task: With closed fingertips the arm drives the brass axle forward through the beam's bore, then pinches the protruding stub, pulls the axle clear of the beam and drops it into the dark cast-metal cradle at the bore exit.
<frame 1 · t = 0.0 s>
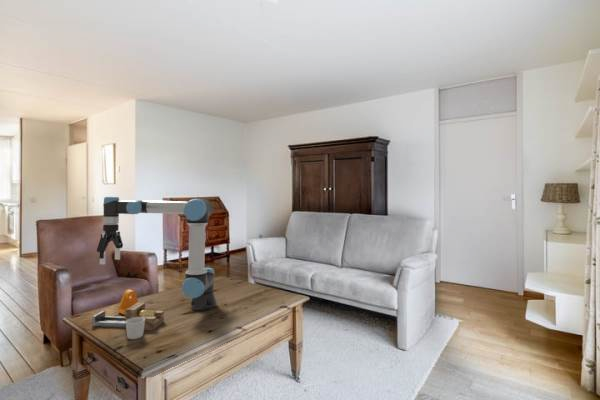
hand: (110, 261, 182), 28 cm above the table, fingers open, 13 cm apart
axle: (140, 318, 165), point 3 cm above the table, touching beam
v block: (115, 323, 165), on the table
bracket: (130, 312, 182), on the table
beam: (145, 324, 165), on the table
cup: (136, 336, 152), on the table
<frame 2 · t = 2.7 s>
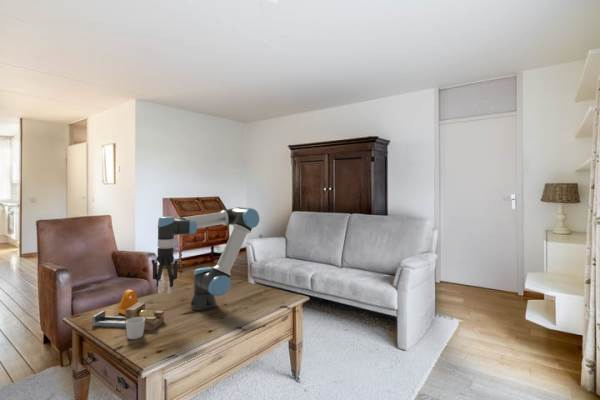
hand: (164, 293, 164), 17 cm above the table, fingers open, 4 cm apart
nothing on the table moved.
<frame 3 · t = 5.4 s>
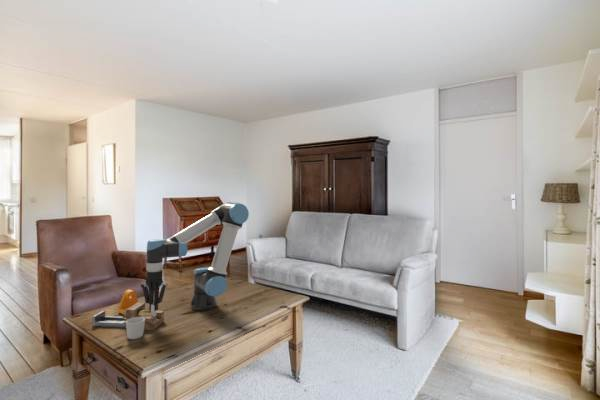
hand: (153, 316, 164), 4 cm above the table, fingers closed
axle: (138, 318, 165), point 3 cm above the table, tilted 6°, touching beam, gripper
everything else where it was.
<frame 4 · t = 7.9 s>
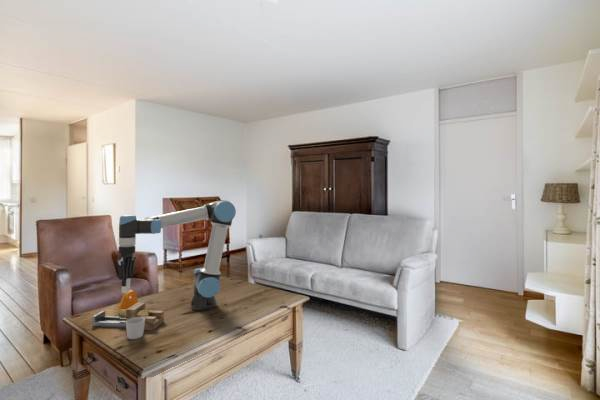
hand: (125, 291, 165), 17 cm above the table, fingers closed
axle: (135, 318, 165), point 3 cm above the table, touching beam
everything else where it was.
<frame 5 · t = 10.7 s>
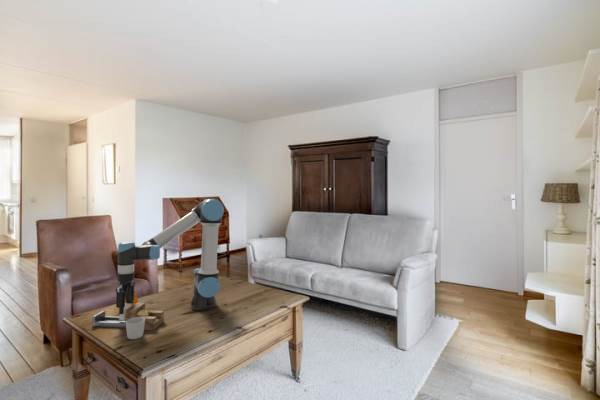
hand: (125, 318, 165), 3 cm above the table, fingers closed on axle, 4 cm apart
axle: (135, 318, 165), point 3 cm above the table, touching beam, gripper
everything else where it was.
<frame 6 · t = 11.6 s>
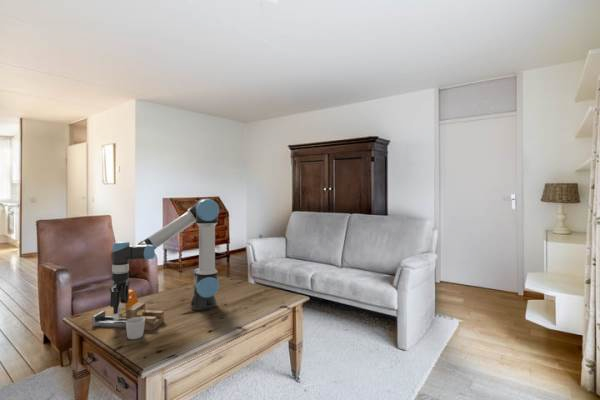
hand: (119, 317, 165), 3 cm above the table, fingers closed on axle, 4 cm apart
axle: (129, 318, 165), point 3 cm above the table, touching gripper
everything else where it was.
when the fingers open (3 cm above the table, at t = 12.8 s): axle drops 2 cm, resting on v block.
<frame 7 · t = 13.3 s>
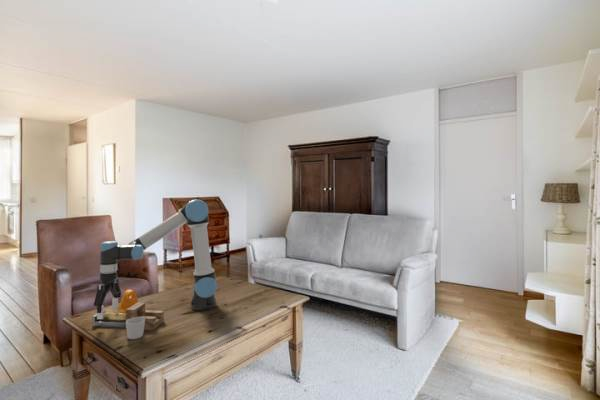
hand: (107, 314, 165), 5 cm above the table, fingers open, 11 cm apart
axle: (117, 321, 165), point 1 cm above the table, touching v block
everything else where it was.
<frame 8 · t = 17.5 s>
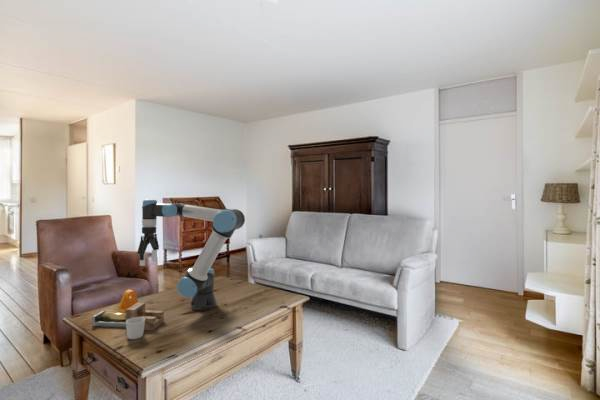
hand: (148, 263, 187), 27 cm above the table, fingers open, 13 cm apart
axle: (117, 321, 165), point 1 cm above the table, tilted 10°, touching v block
everything else where it was.
at the end: axle 0.9 cm off-centre on the v block, point 1.0 cm above the v block's base; axle touching v block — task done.
